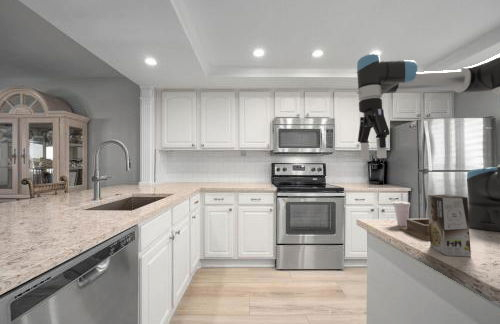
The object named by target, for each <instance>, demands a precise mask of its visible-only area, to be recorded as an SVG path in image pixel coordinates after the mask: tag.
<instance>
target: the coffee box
mask: <svg viewBox="0 0 500 324" xmlns="http://www.w3.org/2000/svg"><path fill="white" fill-rule="evenodd" d="M426 198H427V199H426V200H427V212H428V215H427V216H428V219H429V230H430V247H431V248H432V249H434V250H435V251H438V252H439V253H441V254H443V255H444V256H448V257H450V256H451V257H452V256H453V257H471V256H472V253H471V252H472V251H471V235H470V227H469V216H468V208H469V201H468V197H467V196H460V195H454V194H433V195H429V194H428V195H426Z"/></svg>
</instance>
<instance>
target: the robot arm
mask: <svg viewBox="0 0 500 324" xmlns="http://www.w3.org/2000/svg"><path fill="white" fill-rule="evenodd" d="M418 70H419V69H418V64H417V62H416V61H415V60H412V59H411V60H408V59H407V60H406V59H403V60H391V61H387V60H386V61H384V60H383V61H381V57H380V56H379V55H378V54H375V53H373V54H372V53H371V54H367V55H364V56H362V57H360V58H359V59H358V60H357V63H356V75H357V76H356V77H357V86H358V89H357V92H356V93H357V94H358V101H359V102H358V111H359V112H360V113H362V114H363V116H360V117H359V120H360V121H359V128H358V137H357V142H358V143H359V144H360V158H361V161H369V160H370V146H369V145H370V144H369V143H370V141H369V137H370V133H371V130H372V129H373V130H374V133H375V135H376V136H375V138H376V139H375V141H376V142H375V143H376V158H377V159H387V141H386V139H387V136H389V135H390V134H391V133H390V129H389V127H388V123H387V120H386V118H385V113H384V109H383V100H382V98H383V95H384V94H394V93H395V94H396V93H398V94H399V93H419V92H441V91H443V92H444V91H454V92H456V93H478V92H479V93H480V92H490V91H491V92H492V93H494V94H495V95H497V96H498V97H497V99H498V113H499V115H500V53H499V54H497V55H495V56H493V57H491V58H489V59H486V60H485V61H482V62H480V63H478V64H475V65H472V66H467V67H466V66H465V67H460V68H459V69H456V70H443V71H442V70H441V71H440V70H439V71H424V72H418ZM466 185H467V196H468V197H467V198H468V216H469V228H471V229H476V230H481V231H490V232H500V163H499V164H498V165H497V166H496V167H495V166H493V167H485V168H481V167H480V168H476V169H474V168H473V169H471V170H468V172H467V173H466Z"/></svg>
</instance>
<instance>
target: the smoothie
mask: <svg viewBox="0 0 500 324" xmlns="http://www.w3.org/2000/svg"><path fill="white" fill-rule="evenodd" d="M400 198H401V201H394V202H392V205H393V207H394V213H395V217H396V223H397V226H398V227H407V220H406V219H410V208H411V207H410V206H411V202H410V201H409V202H408V201H404V197H403V192H400Z"/></svg>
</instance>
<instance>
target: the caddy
mask: <svg viewBox="0 0 500 324" xmlns="http://www.w3.org/2000/svg"><path fill="white" fill-rule="evenodd" d="M406 220H407V226H406V227H403V226H399V230H400V231H402V232H404V233H407V234H409V235H411V236H413V237H416V238H418V239H421V240H422V241H425V242H428V241H430V230H429V218H415V219H414V218H413V219H412V218H411V219H410V218H409V219H406Z"/></svg>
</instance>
